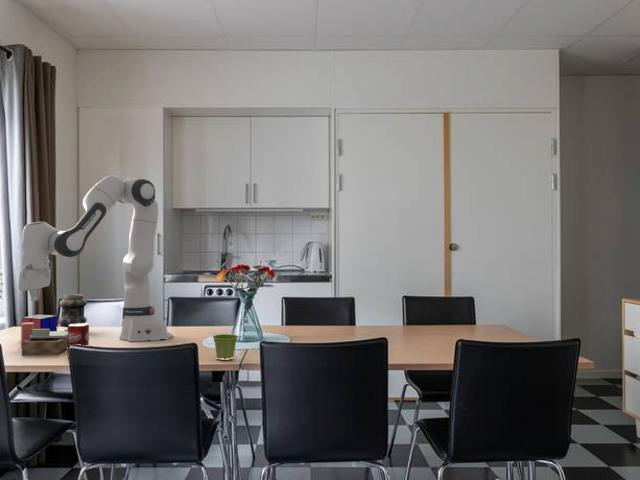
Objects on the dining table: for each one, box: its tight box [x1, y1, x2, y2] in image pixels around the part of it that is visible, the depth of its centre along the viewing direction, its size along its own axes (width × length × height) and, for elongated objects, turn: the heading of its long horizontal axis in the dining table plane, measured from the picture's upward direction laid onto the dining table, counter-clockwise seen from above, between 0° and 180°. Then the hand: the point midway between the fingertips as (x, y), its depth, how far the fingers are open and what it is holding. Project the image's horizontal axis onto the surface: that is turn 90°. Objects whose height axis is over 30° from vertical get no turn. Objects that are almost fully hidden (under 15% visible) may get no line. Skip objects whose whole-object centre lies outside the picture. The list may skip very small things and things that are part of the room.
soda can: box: [66, 322, 90, 357], centre depth 189 cm, size 7×7×12 cm
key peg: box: [20, 322, 34, 350], centre depth 202 cm, size 4×4×10 cm
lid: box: [30, 329, 68, 338], centre depth 202 cm, size 13×10×3 cm
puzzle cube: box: [21, 314, 58, 331], centre depth 221 cm, size 10×10×10 cm
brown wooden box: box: [21, 337, 67, 356], centre depth 195 cm, size 13×10×5 cm
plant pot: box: [212, 333, 239, 359], centre depth 188 cm, size 9×9×9 cm
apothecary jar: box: [57, 293, 88, 331], centre depth 237 cm, size 12×12×18 cm
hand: (34, 300), depth 191 cm, fingers closed
